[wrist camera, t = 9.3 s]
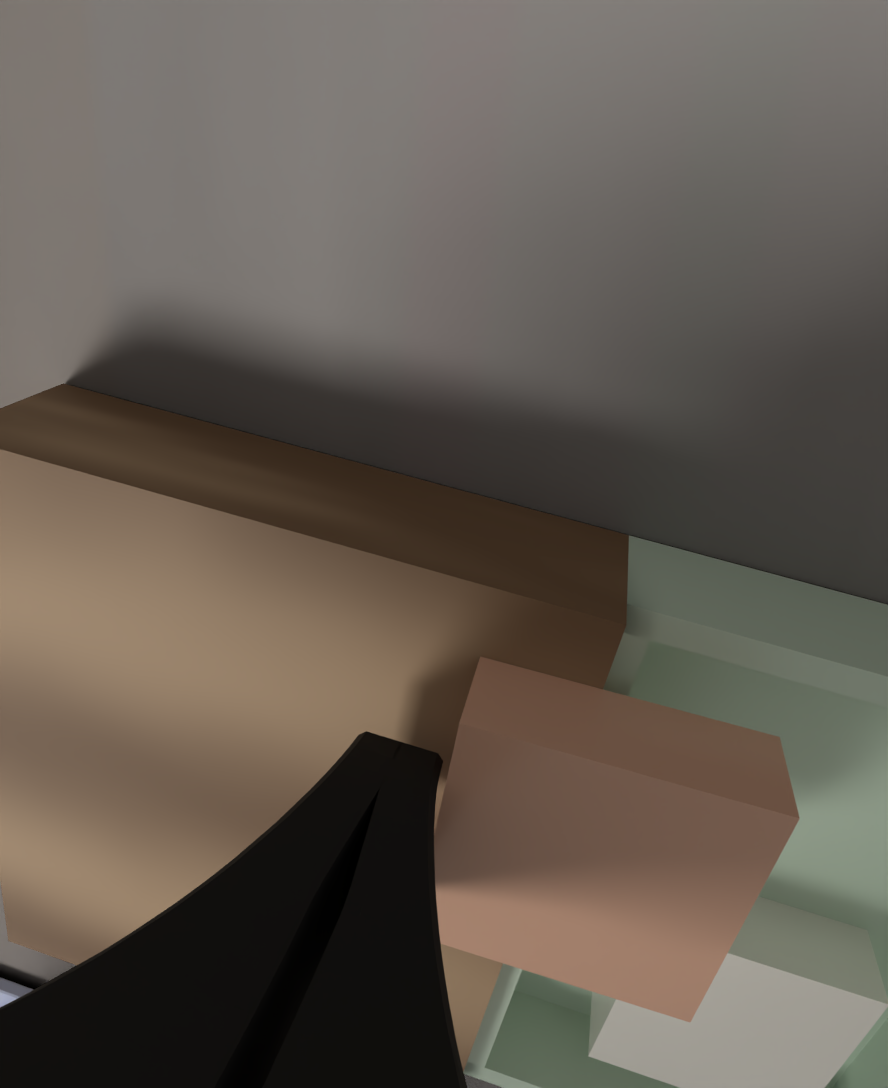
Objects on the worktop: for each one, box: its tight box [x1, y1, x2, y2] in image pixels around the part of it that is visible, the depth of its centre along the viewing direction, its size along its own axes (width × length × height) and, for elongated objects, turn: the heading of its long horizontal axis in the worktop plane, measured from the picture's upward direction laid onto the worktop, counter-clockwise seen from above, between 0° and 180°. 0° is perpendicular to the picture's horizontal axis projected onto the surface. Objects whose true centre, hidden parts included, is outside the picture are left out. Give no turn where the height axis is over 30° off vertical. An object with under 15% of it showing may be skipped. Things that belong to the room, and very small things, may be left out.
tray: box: [463, 535, 888, 1088], centre depth 15 cm, size 13×9×2 cm
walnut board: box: [0, 384, 629, 1071], centre depth 16 cm, size 13×11×3 cm
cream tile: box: [588, 896, 888, 1088], centre depth 17 cm, size 4×4×2 cm
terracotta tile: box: [434, 656, 800, 1022], centre depth 12 cm, size 4×4×2 cm
